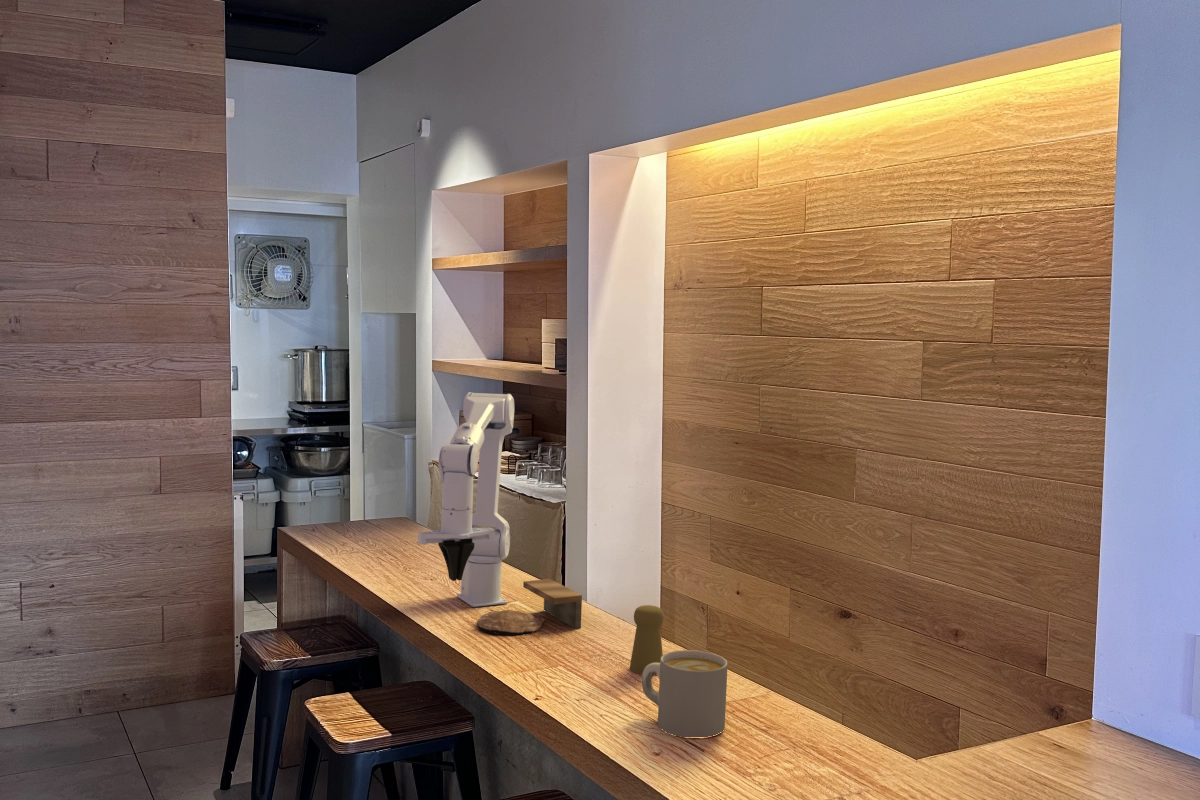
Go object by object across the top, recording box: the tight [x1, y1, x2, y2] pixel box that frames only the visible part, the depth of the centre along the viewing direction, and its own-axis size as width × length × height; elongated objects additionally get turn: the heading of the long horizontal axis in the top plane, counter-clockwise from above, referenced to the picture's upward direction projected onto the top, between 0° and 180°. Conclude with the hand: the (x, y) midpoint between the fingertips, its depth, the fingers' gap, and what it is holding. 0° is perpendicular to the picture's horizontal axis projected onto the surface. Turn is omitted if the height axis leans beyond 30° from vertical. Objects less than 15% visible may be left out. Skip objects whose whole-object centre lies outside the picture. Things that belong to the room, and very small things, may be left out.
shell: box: [476, 609, 544, 637], centre depth 202 cm, size 12×13×4 cm
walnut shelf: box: [522, 578, 583, 629], centre depth 208 cm, size 14×6×6 cm, turn 29°
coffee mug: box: [641, 649, 728, 737], centre depth 156 cm, size 13×10×10 cm
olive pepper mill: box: [628, 604, 665, 676], centre depth 180 cm, size 6×6×11 cm
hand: (455, 579), depth 196 cm, fingers closed
